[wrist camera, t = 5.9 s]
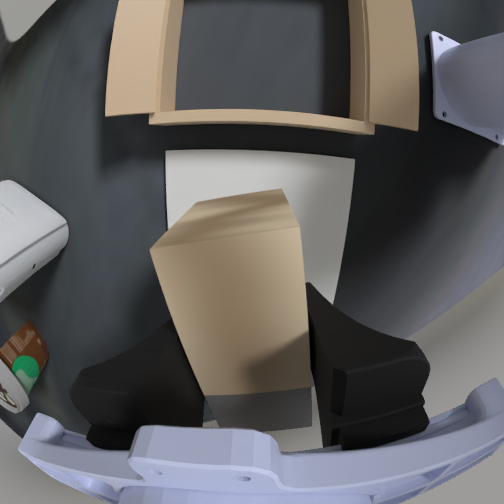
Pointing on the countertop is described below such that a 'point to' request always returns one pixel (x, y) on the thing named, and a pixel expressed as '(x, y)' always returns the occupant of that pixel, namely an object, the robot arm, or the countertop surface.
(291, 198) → the mat
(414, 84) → the carton
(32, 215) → the photo printer
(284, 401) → the capped block
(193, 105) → the countertop surface
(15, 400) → the food container
